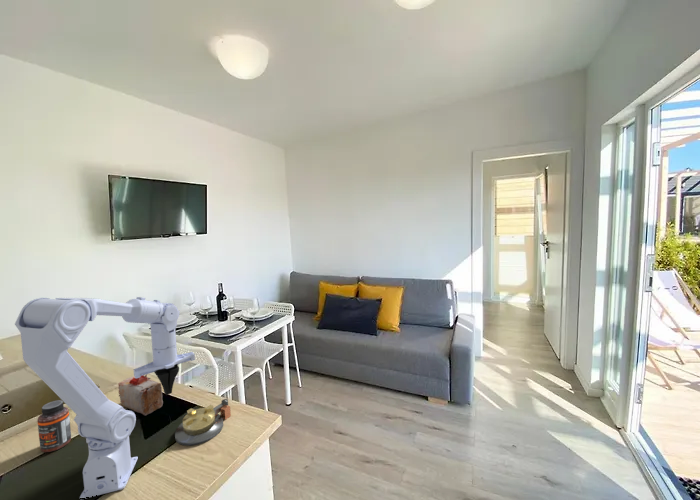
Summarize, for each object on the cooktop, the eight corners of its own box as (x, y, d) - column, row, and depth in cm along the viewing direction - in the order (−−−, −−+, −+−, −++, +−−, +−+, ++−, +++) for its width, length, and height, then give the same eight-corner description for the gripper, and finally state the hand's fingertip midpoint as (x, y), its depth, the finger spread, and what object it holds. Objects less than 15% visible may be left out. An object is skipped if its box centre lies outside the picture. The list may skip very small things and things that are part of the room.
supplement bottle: (34, 456, 77) (29, 413, 76) (49, 440, 82) (45, 400, 81) (63, 450, 78) (58, 408, 77) (76, 435, 84) (72, 396, 83)
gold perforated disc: (195, 439, 79) (194, 426, 79) (175, 429, 83) (174, 417, 83) (237, 410, 91) (236, 399, 91) (218, 403, 95) (217, 392, 95)
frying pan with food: (195, 451, 77) (194, 440, 77) (165, 437, 82) (164, 427, 82) (238, 418, 90) (237, 408, 90) (209, 408, 95) (209, 399, 95)
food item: (115, 407, 97) (112, 377, 96) (141, 394, 104) (139, 366, 103) (142, 418, 91) (139, 387, 90) (168, 404, 98) (165, 374, 97)
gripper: (136, 358, 76) (140, 410, 77) (197, 341, 87) (200, 387, 88) (130, 350, 81) (134, 399, 82) (188, 335, 92) (191, 379, 93)
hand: (168, 392), depth 85 cm, fingers closed
